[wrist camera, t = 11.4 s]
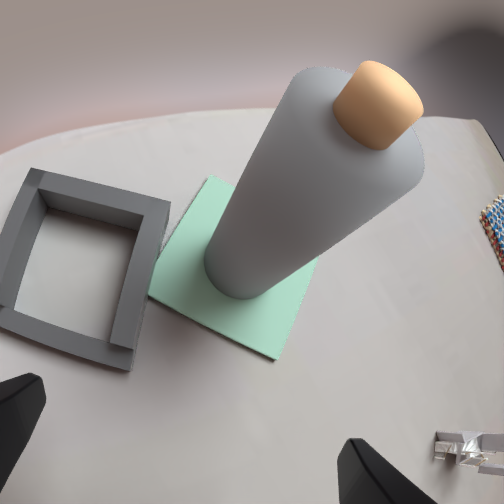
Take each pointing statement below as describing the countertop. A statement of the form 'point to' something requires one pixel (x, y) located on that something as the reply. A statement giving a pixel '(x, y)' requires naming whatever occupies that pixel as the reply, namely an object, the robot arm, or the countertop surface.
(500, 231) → the woven mat
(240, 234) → the capped gray cylinder
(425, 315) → the countertop surface
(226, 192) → the pad
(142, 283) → the gray square frame
